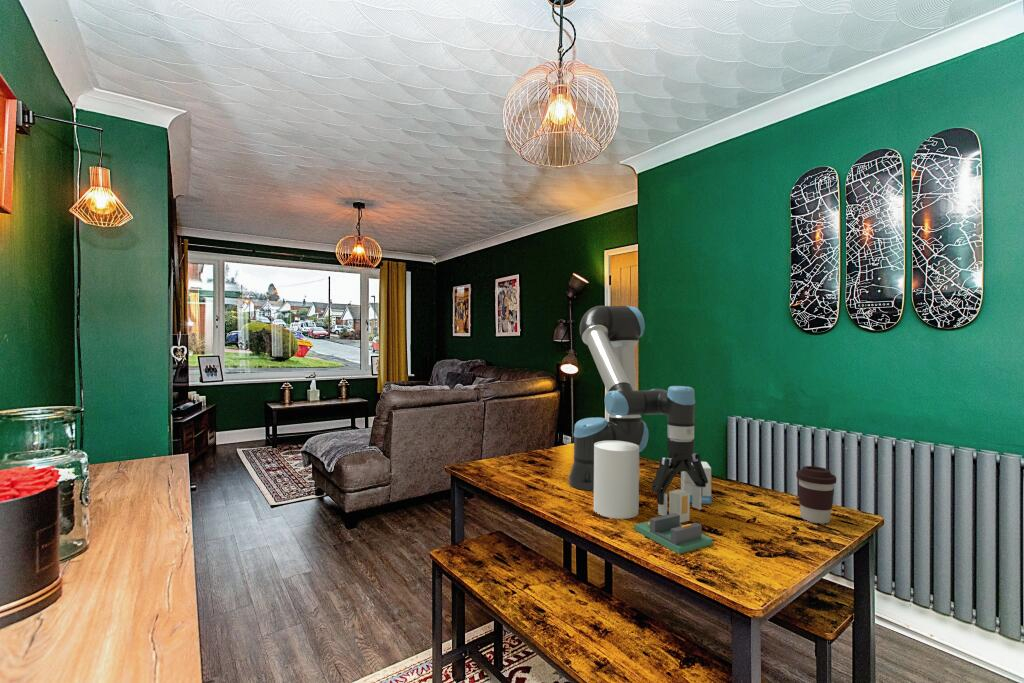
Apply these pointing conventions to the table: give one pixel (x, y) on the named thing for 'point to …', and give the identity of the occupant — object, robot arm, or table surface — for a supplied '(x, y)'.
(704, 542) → the board
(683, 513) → the plug
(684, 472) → the ink box
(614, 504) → the canister
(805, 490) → the coffee cup
